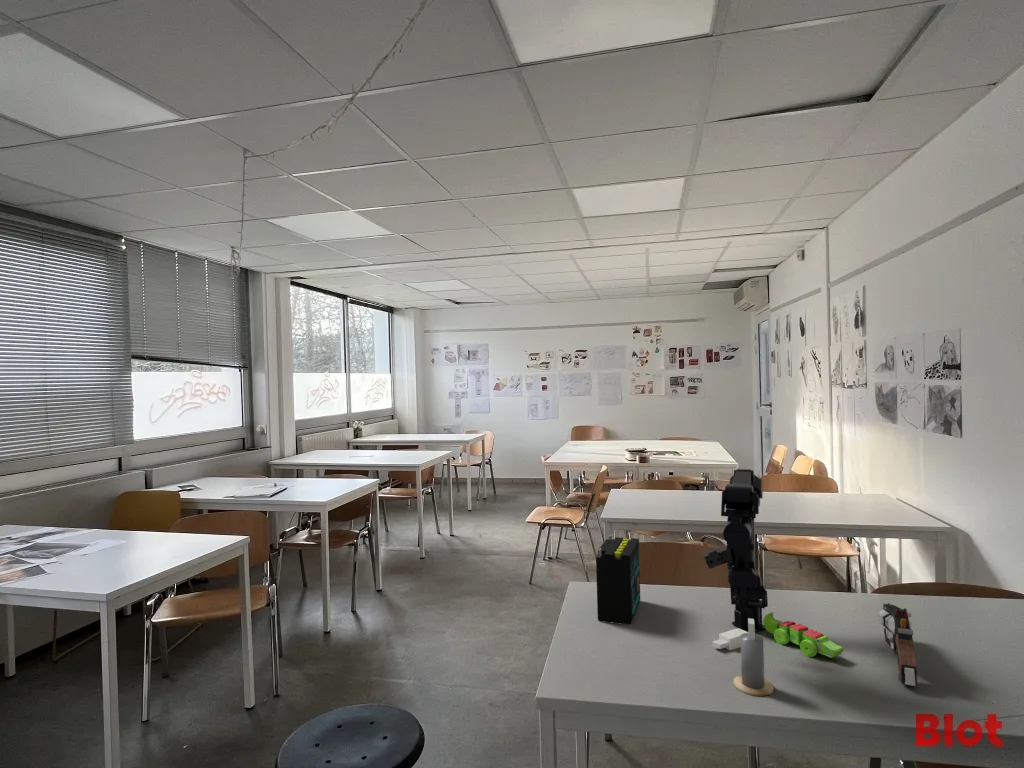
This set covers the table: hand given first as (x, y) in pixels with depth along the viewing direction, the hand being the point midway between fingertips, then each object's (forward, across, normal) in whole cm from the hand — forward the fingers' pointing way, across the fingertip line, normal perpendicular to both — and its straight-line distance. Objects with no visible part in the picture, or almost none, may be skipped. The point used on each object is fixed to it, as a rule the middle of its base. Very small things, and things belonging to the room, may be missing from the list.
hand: (742, 603), depth 139 cm
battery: (+13, -22, -33) cm, 42 cm away
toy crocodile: (+13, -10, +14) cm, 22 cm away
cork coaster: (+13, +13, +1) cm, 19 cm away
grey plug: (+13, +13, +1) cm, 18 cm away
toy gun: (+13, -8, +34) cm, 37 cm away
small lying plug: (+13, -7, -3) cm, 15 cm away
